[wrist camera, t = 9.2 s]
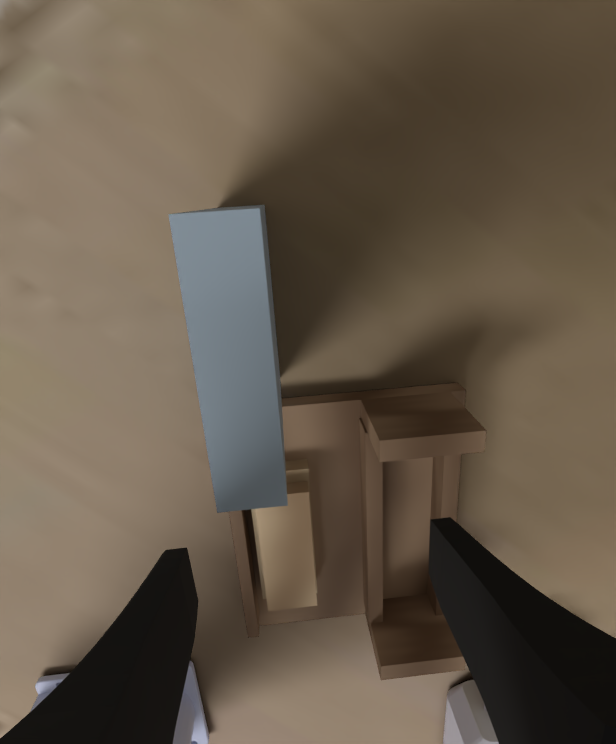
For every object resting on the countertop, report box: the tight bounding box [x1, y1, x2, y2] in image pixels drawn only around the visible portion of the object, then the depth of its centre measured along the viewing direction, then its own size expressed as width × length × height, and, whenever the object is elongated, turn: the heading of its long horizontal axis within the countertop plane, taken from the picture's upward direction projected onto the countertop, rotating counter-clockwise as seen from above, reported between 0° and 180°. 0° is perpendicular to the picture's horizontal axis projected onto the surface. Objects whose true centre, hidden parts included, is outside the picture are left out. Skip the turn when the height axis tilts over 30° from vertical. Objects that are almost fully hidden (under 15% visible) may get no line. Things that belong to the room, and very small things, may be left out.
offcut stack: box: [251, 459, 317, 611], centre depth 23 cm, size 3×8×2 cm, turn 3°
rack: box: [229, 383, 486, 680], centre depth 23 cm, size 12×14×5 cm
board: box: [169, 205, 288, 513], centre depth 16 cm, size 2×8×10 cm, turn 3°
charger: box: [443, 680, 499, 744], centre depth 30 cm, size 5×9×15 cm
